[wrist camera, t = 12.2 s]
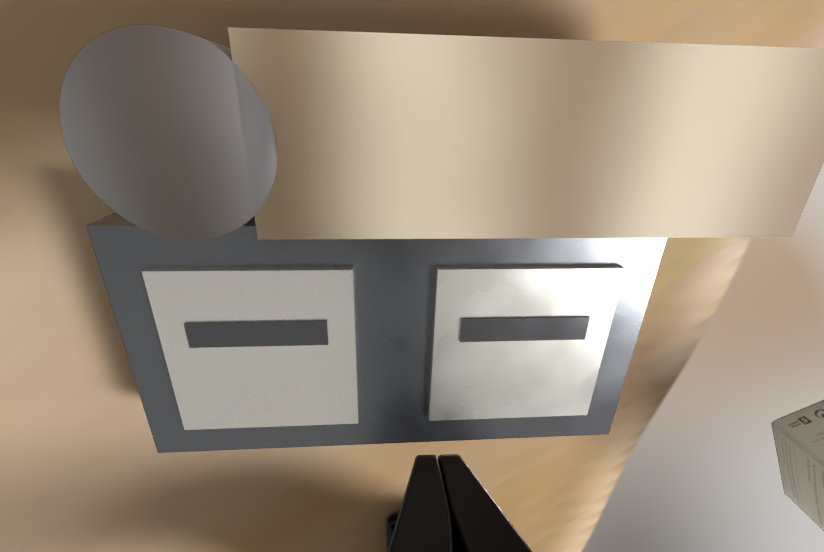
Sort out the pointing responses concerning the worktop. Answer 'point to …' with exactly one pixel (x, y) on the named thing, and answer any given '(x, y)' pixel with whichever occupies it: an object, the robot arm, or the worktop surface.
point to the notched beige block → (443, 135)
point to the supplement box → (803, 458)
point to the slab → (373, 335)
